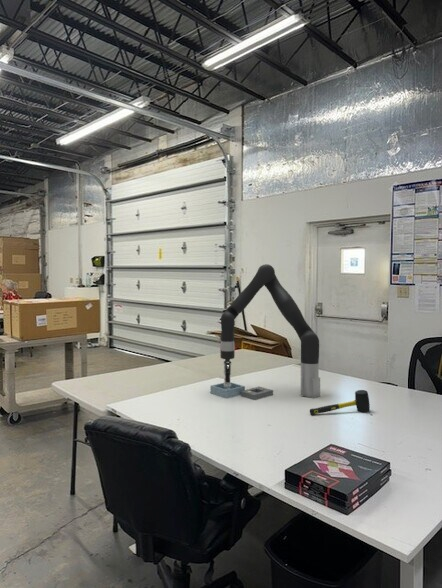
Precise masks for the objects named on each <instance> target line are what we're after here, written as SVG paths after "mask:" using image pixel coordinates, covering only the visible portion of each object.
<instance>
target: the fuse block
mask: <svg viewBox="0 0 442 588" xmlns="http://www.w3.org/2000/svg"><path fill="white" fill-rule="evenodd" d="M273 395H274V390H273V389H270V388H268V387H267V388H266V387H263V386H256V387H251V388H249V389H245V390H243V391H241V395H240V396H241V397H242V398H243V397H244V398H246V399H250V400H253V401H257V400H259V399H263V397H264V398H266V397H271V396H273Z"/></svg>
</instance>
